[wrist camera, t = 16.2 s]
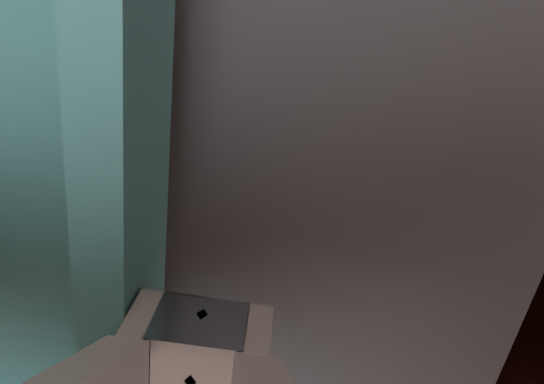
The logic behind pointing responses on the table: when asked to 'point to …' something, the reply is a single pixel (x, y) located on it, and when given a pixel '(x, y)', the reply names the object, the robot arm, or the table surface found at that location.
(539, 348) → the table surface
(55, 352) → the cyan square tray
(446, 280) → the grey rectangular mat
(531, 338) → the table surface
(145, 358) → the robot arm
